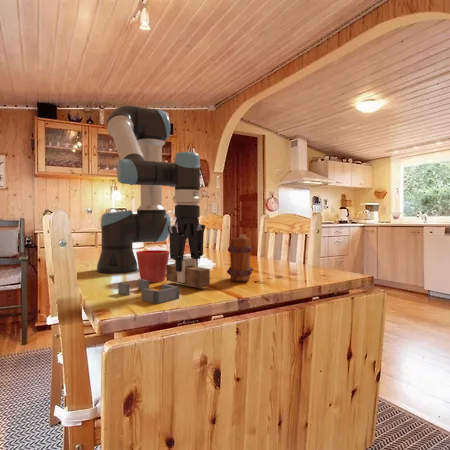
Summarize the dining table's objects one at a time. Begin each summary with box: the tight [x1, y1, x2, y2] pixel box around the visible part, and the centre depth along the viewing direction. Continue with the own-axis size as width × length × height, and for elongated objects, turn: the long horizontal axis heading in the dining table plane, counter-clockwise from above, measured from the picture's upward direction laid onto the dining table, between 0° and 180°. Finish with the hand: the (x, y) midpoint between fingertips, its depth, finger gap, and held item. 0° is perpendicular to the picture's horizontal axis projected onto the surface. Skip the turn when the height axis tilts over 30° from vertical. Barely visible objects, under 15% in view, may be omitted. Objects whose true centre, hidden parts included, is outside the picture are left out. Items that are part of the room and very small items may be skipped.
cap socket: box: [140, 283, 180, 305], centre depth 87 cm, size 6×8×3 cm
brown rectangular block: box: [165, 262, 211, 289], centre depth 102 cm, size 15×4×5 cm, turn 49°
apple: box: [174, 255, 191, 265], centre depth 125 cm, size 8×8×7 cm
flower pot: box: [136, 249, 170, 283], centre depth 112 cm, size 11×11×10 cm
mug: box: [226, 233, 254, 283], centre depth 114 cm, size 15×8×15 cm, turn 168°
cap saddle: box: [117, 278, 150, 297], centre depth 95 cm, size 4×8×3 cm, turn 139°
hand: (186, 280), depth 103 cm, fingers closed on brown rectangular block, 4 cm apart
